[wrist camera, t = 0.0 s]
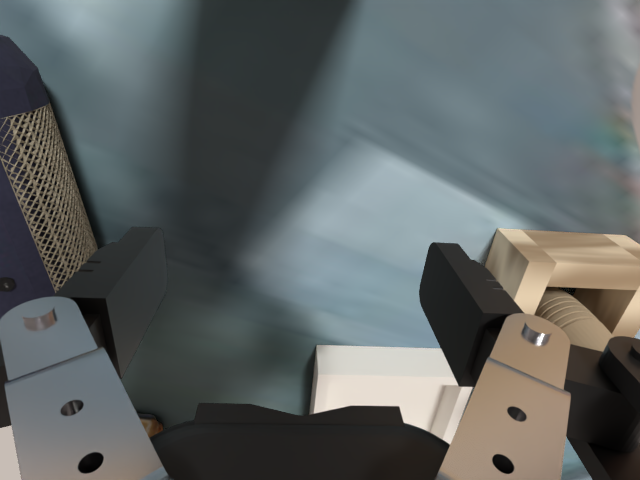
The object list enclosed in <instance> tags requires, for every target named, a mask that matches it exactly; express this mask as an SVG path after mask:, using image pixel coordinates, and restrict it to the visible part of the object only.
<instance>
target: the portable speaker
mask: <svg viewBox="0 0 640 480" xmlns="http://www.w3.org/2000/svg"><path fill="white" fill-rule="evenodd" d="M47 134H48V135H47ZM49 144H50V145H49ZM53 145H54V146H53ZM52 152H53V153H52ZM55 159H56V160H55ZM58 162H59V164H58ZM61 175H62V176H61ZM63 181H64V182H63ZM68 197H69V199H68ZM73 207H74V208H73ZM72 217H73V218H72ZM80 232H81V233H80ZM82 238H83V239H82ZM87 244H88V245H87ZM97 250H98V248H97V244H96V242H95V238H94V235H93V232H92V229H91V226H90V223H89V220H88V217H87V214H86V211H85V208H84V205H83V202H82V199H81V196H80V193H79V189H78V187H77V183H76V181H75V177H74V174H73V171H72V168H71V165H70V162H69V159H68V156H67V153H66V150H65V147H64V144H63V140H62V138H61V135H60V131H59V129H58V125H57V123H56V119H55V116H54V113H53V110H52V107H51V104H50V101H49V98H48V96H47V93H46V90H45V87H44V85H43V82H42V79H41V76H40V73H39V71H38V68H37V67H36V66H35V64H34V63H33V62H32V61H31V60H30V59H29V58H28V57H27V56H26V55H25V54H24V53H23V52H22V51H21V50H20V49H19V47H18V46H17V45H16V44H15V43H14V42H13V41H12V40H11V39H10V38H9V37H6V36H3V35H0V319H1V318H2V317H3V316H4V315H5V314H6V313H7V312H8V311H10V310H11V309H13V308H14V307H16V306H18V305H20V304H23V303H25V302H28V301H31V300H34V299H39V298H44V297H53V296H54V295H55V293H56V292H57V291H58V290H59V289H60V288H61V287H62V286H63V285H64V284H65V283H66V282H67V281H68V280H69V279H70V278H71V277H72V276H73V275H74V274H75V272H78V269H79V268H80V267H81V266H82V265H83V264H84V263H86V262H87V260H88V259H89V258H90V257H91V256H92V255H93V254H94V252H95V251H97ZM86 256H87V257H86Z"/></svg>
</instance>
